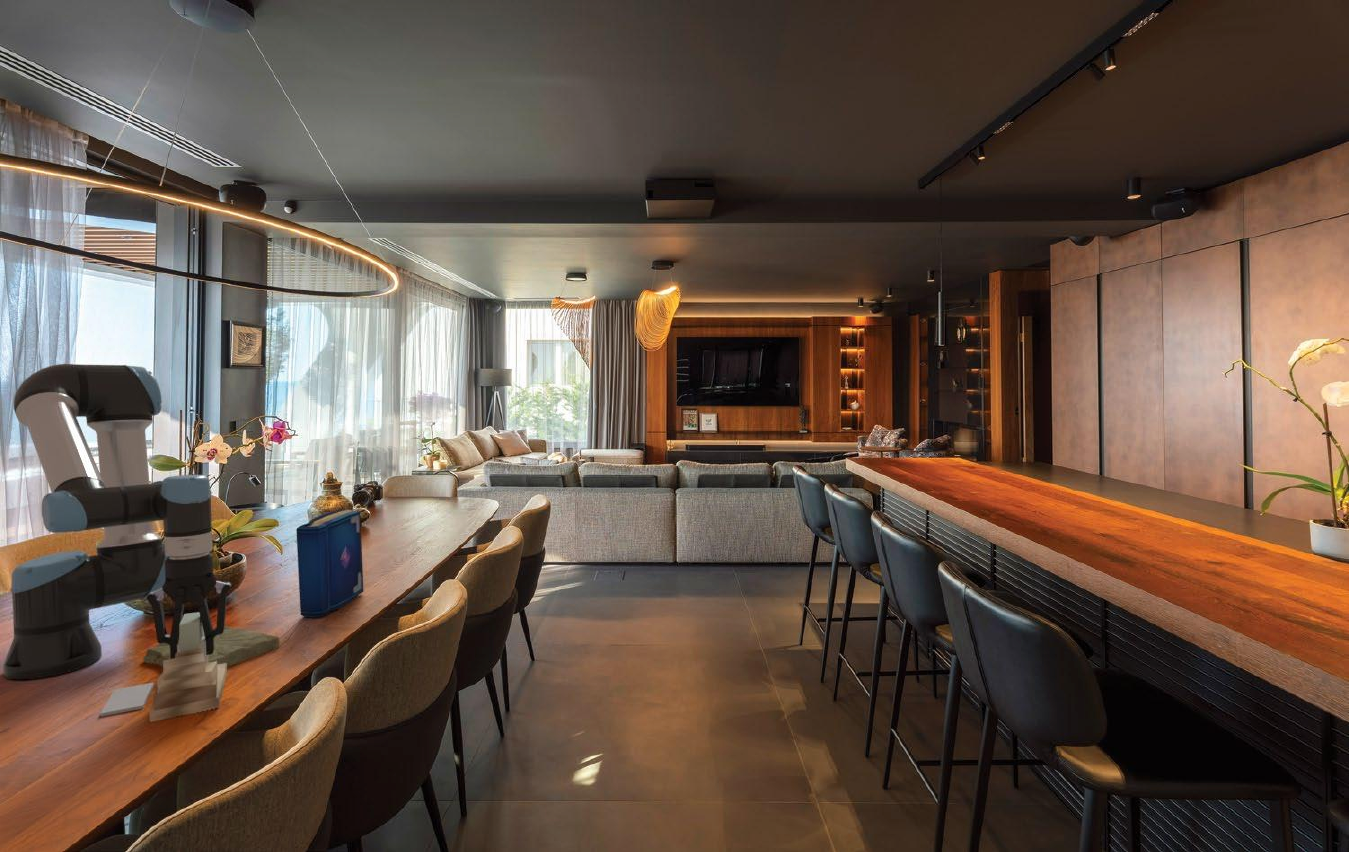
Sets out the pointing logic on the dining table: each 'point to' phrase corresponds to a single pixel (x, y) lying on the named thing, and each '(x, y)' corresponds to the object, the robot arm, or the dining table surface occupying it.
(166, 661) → the offcut top
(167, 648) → the decorative tile
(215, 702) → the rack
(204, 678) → the block
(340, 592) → the book
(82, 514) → the robot arm
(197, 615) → the pale green block
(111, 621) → the dining table surface
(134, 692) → the felt mat
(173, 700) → the offcut bottom
